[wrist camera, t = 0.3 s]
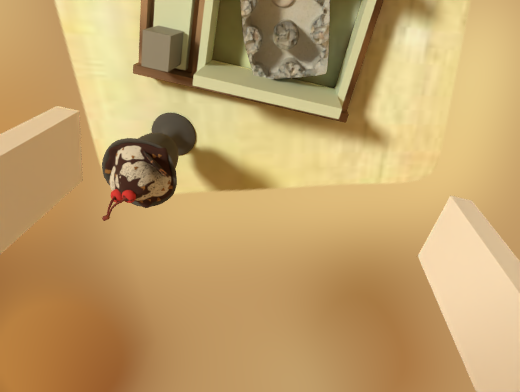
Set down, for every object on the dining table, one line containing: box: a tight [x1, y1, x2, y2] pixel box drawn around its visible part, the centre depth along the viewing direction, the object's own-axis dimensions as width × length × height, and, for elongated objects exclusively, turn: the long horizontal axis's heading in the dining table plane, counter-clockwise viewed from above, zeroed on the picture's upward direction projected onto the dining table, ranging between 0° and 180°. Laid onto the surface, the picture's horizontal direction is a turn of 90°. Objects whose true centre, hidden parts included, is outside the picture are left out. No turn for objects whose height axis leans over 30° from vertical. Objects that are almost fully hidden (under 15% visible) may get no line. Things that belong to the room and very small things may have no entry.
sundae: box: [102, 113, 195, 221], centre depth 35 cm, size 7×7×15 cm
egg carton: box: [240, 0, 330, 79], centre depth 32 cm, size 11×8×4 cm
